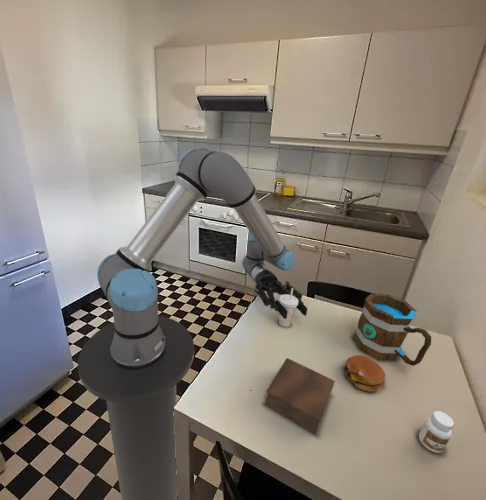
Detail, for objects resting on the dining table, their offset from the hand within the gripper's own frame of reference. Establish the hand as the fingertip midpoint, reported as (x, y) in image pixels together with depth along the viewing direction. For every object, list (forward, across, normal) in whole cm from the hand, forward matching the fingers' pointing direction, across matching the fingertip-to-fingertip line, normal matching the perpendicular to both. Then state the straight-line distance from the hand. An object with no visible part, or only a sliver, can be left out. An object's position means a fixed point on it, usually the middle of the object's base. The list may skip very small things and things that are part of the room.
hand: (295, 313), depth 87 cm
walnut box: (+22, +11, -8) cm, 26 cm away
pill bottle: (+39, -11, -8) cm, 41 cm away
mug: (+14, -24, -8) cm, 29 cm away
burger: (+21, -9, -8) cm, 24 cm away
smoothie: (-5, 0, -8) cm, 9 cm away
